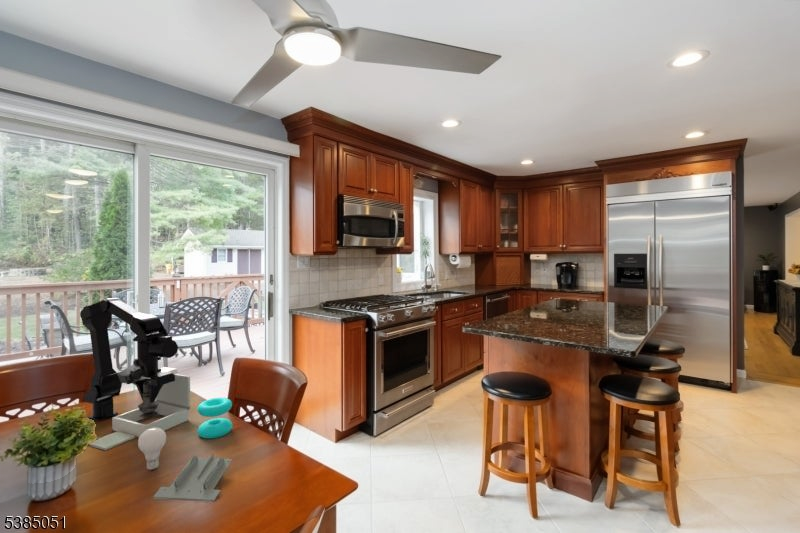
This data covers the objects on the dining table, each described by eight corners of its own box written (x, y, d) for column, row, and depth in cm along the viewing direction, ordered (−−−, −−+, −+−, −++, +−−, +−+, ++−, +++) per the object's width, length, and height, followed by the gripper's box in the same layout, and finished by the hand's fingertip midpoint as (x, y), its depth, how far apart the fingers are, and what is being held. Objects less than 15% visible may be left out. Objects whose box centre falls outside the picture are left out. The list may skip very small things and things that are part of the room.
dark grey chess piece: (143, 420, 124) (142, 383, 124) (134, 415, 127) (134, 380, 127) (162, 413, 129) (162, 378, 129) (153, 409, 132) (153, 375, 132)
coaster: (87, 444, 115) (87, 442, 115) (117, 432, 123) (117, 431, 123) (105, 450, 112) (105, 448, 112) (134, 437, 120) (134, 435, 120)
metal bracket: (185, 449, 102) (239, 451, 101) (189, 466, 104) (243, 468, 103) (147, 496, 88) (209, 499, 87) (153, 515, 90) (214, 518, 89)
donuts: (216, 394, 130) (238, 398, 126) (216, 423, 130) (239, 428, 126) (190, 405, 120) (213, 410, 117) (190, 436, 121) (214, 442, 117)
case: (112, 429, 125) (111, 384, 125) (159, 411, 140) (158, 370, 139) (145, 438, 119) (144, 391, 119) (190, 418, 134) (190, 376, 133)
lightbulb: (172, 465, 104) (171, 425, 104) (150, 477, 98) (149, 435, 98) (155, 460, 106) (154, 421, 106) (132, 473, 100) (131, 431, 100)
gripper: (103, 357, 123) (104, 405, 124) (142, 364, 116) (142, 415, 117) (138, 350, 134) (139, 394, 134) (176, 355, 127) (176, 402, 127)
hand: (148, 401), depth 128 cm, fingers closed on dark grey chess piece, 3 cm apart
